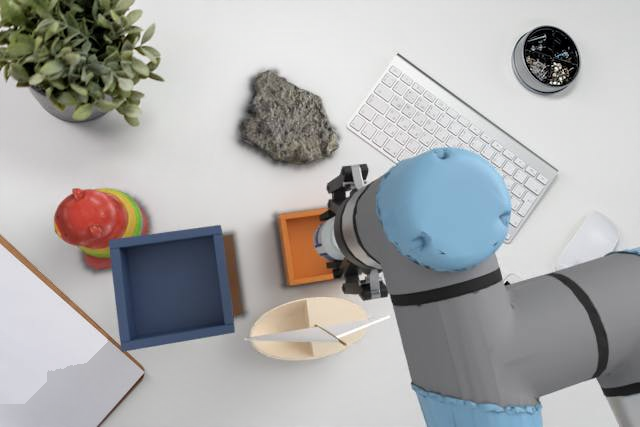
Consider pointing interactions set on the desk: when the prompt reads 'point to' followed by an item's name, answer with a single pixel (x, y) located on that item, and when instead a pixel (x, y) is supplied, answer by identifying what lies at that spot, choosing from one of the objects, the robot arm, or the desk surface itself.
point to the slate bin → (174, 286)
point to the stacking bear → (98, 222)
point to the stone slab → (288, 122)
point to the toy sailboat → (309, 328)
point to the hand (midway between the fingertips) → (333, 240)
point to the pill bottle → (327, 242)
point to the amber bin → (302, 248)
